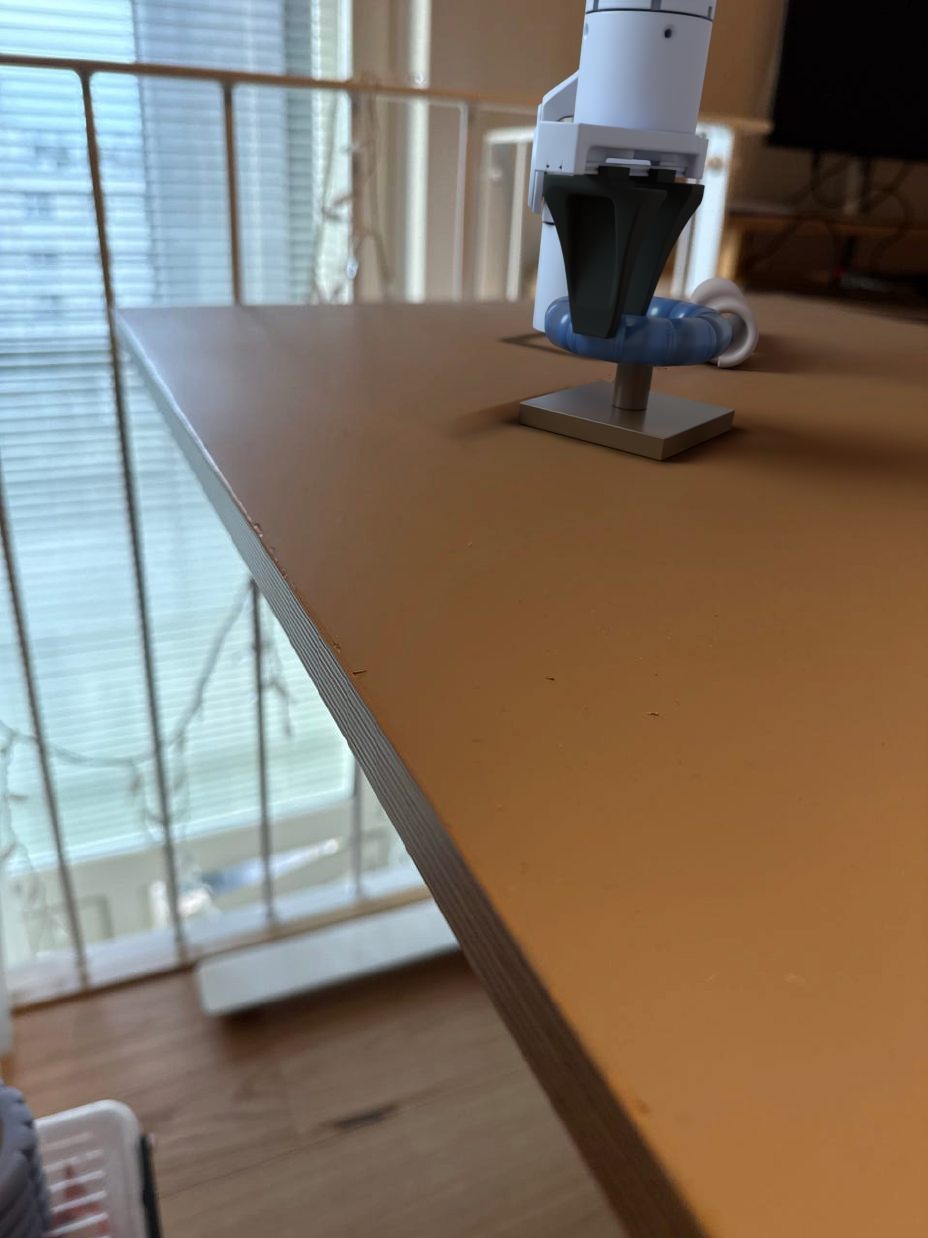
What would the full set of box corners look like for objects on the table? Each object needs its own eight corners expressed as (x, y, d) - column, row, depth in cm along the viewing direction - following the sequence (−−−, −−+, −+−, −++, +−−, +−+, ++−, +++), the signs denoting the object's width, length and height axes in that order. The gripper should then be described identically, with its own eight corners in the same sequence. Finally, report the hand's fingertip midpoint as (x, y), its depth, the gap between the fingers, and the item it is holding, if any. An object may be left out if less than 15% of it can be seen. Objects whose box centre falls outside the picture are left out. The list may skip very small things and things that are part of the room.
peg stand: (597, 398, 59) (609, 313, 56) (731, 429, 54) (749, 338, 52) (517, 423, 52) (526, 327, 50) (661, 461, 48) (678, 358, 45)
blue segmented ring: (593, 325, 57) (598, 284, 56) (750, 353, 53) (759, 309, 51) (508, 346, 50) (512, 300, 49) (681, 380, 45) (690, 330, 44)
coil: (768, 311, 68) (748, 281, 83) (705, 297, 68) (697, 271, 84) (748, 374, 70) (732, 334, 86) (687, 361, 70) (682, 323, 86)
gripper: (635, 39, 49) (600, 307, 55) (485, -5, 38) (463, 335, 44) (766, 40, 46) (713, 325, 52) (643, -8, 35) (595, 360, 41)
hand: (606, 331), depth 48 cm, fingers closed on blue segmented ring, 2 cm apart
